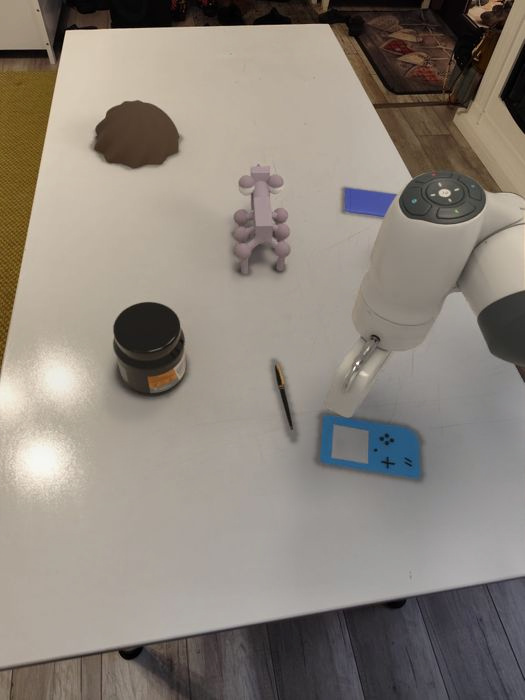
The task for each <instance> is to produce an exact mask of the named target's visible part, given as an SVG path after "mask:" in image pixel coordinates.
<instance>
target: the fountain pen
mask: <svg viewBox="0 0 525 700" xmlns="http://www.w3.org/2000/svg"><path fill="white" fill-rule="evenodd" d="M274 372H275V378H276V383H277V387H278V390H279V394H280V398H281V401H282V405H283V408H284V412H285V415H286V419H287V422H288V425H289V428H290V430H291V431H292V430H294V426H293V421H292V420H293V419H292V416H291V409H290V407H289V402H288V398H287V394H286V390H285V389H286V387H285V381H284V377H283V374H282V370H281V367H280V365H279V364H275V365H274Z"/></svg>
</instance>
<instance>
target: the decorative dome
mask: <svg viewBox="0 0 525 700" xmlns="http://www.w3.org/2000/svg"><path fill="white" fill-rule="evenodd" d="M94 132H95V134H96V137H97V140H96V141H95V144H94V146H93V150H95V151H96V152H97V153H100V154H101V155H103V157H104V159H105V162H106V163H108V164H117V165H118V164H119V165H123V166H125V167H127V168H130V169H131V170H132V169H133V170H135V169H139V168H141V167H145V166H161V165H163V164H164V162H165V161H166V160H167V159H168V157H172V156H174V155H176V154H178V153H179V148H180V147H179V139H180V133H179V130H178V128H177V126H176V125H175V123H174V121H173V120H172V118H171V117H170V115H168V114H167V113H166V112H165V111H164V110H163V109H162V108H160V107H159V106H158V105H155V104H153V103H151V102H144V101H142V100H139V99H136V100H132V101H131V100H124V101H122V103H120V104H117V105H114V106H112V107H110V108H109V109H108V110H107V111H106V113H105V117H104V118H103V119H102V120H100V122H98V124H97V125H96V126H95V129H94Z"/></svg>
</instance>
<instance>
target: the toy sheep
mask: <svg viewBox="0 0 525 700" xmlns="http://www.w3.org/2000/svg"><path fill="white" fill-rule="evenodd" d="M270 169H271V168H270V165H263V166H262V165H260V164H259V163H257V165H256V166H253V165H252V166H251V165H250V175H247V174H246V175H242V176H241V177H240V178H239V180H238V186H237V187H238V191H239V193H240V194H241V195H243V196H246V197H247V196H250V206H251V207H250V208H251V209H250V210H251V211H253V212H248V211H247V210H245V209H238V210H236V211H235V212H234V214H233V221H234V223H235V224H236V225H238V227H236V228H235V229H234V231H233V239H234V240H235V241H236V242H237V243H238V244H237V245H236V247H235V248H234V254H235V256H236V258H237V259H239V260H240V272H241V274H243V275H247V274H249V261H248V259H249V258H250V257H251V256H252V250H253V249H254V248H256V247H257V246H258V245H260V244H261V245H262V244H263V245H264V244H267V245H269V246H270V247H271V248H273V250H274V254H275V255H276V256H277V259H276V260H277V261H276V268H275V269H276V270H277V272H282V271H283V270H284V269H285V268H284V267H285V262H286V258H287V257H288V256H289V255H290V254H291V251H292V248H291V245H290V244H289V242H288V241H285V240H287V239H288V238H289V237H290V235H291V229H290V227H289V225H287V224H286V222H287V220H288V217H289V213H288V211H287V209H286V208H283V207H277V208H275V209H274V211H272V203H271V197H270V196H271V194H272V195H279V194H281V192H283V190H284V183H285V182H284V179H283V177H282V176H281V175H280V174H276V173H274V174H271V170H270ZM249 221H253V225H252V226H250V227H246V225H247V224H248V223H249ZM273 221H274V222H273ZM252 235H254V237H253V238H252V239H251V240H249V239H250V236H252ZM273 236H275V237H276V239H274V237H273ZM248 240H249V242H247V241H248Z"/></svg>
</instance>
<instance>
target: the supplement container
mask: <svg viewBox="0 0 525 700" xmlns="http://www.w3.org/2000/svg"><path fill="white" fill-rule="evenodd" d="M112 332H113V333H112V334H113V341H112V349H113V352H114V355H115V357H116V361H117V364H118V368H119V375H120V379H121V380H122V382H123V384H124V386H126V388H127V389H129V390H130V391H131V392H133V393H135V394H137V395H139V396H144V397H159V396H162V395H163V396H164V395H166V394H168V393H170V392H172V391H174V390H175V389H176V388H178V386H180V385H181V383H182V382H183V380H184V378H185V376H186V372H187V360H186V351H185V348H186V347H185V345H186V337H185V333H184V330H183V329H182V325H181V320H180V318H179V316H178V314H177V313H176V312H175V311H174V310H173V309H172V308H171V307H169V306H167V305H165V304H163V303H161V302H156V301H155V302H154V301H141V302H138V303H137V302H136V303H134V304H132V305H129V306H127V307H125V308H124V309H123V310H122V311H121V312H120V313H119V314H118V316H116V318H115V320H114V322H113V328H112Z"/></svg>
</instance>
